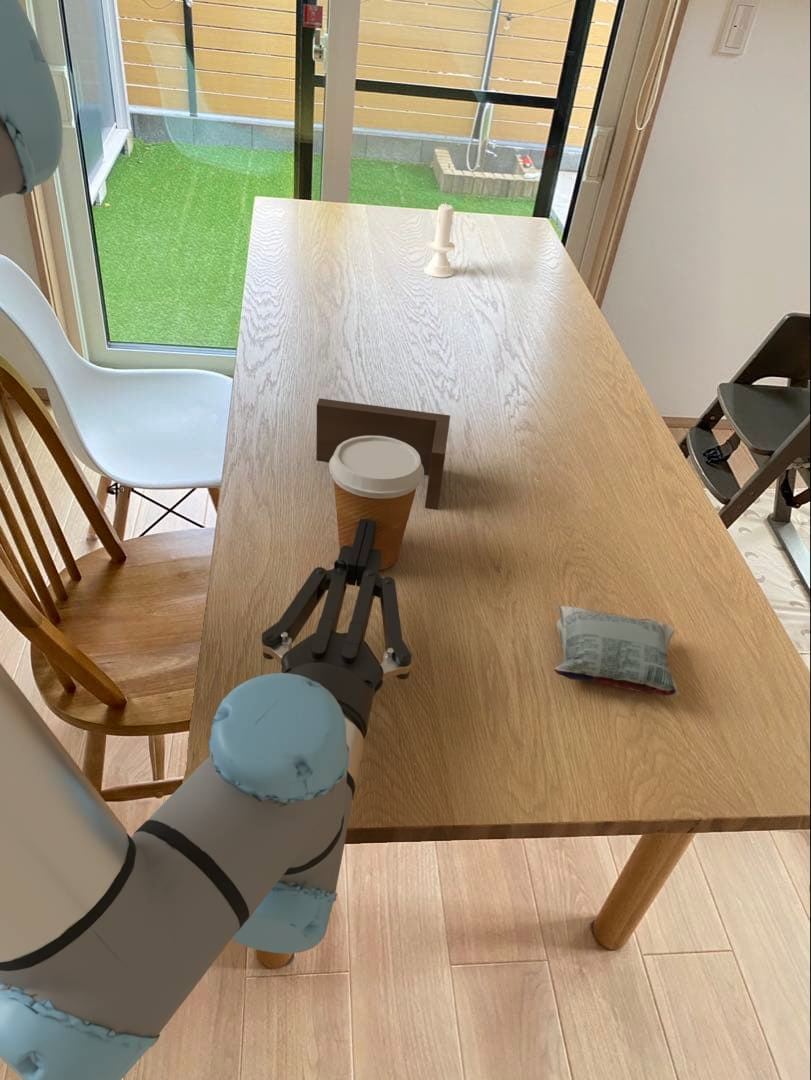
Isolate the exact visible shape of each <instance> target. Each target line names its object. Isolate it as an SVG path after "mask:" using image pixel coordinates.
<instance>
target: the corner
mask: <svg viewBox="0 0 811 1080" xmlns="http://www.w3.org/2000/svg"><path fill="white" fill-rule="evenodd" d="M450 421H451V415H449V414H443V413H436V412H435V413H434V412H428V411H427V412H426V411H419V410H412V409H404V408H396V407H390V406H382V405H375V404H374V405H373V404H367V403H360V402H359V403H357V402H351V401H343V400H334V399H327V398H321V397H319V398H318V399H317V403H316V448H315V449H316V453H315V454H316V457H315V459H316V461H322V462H328V463H329V461H330V459H331V458H332V456H333V455H334V452H335V450H336V448H337V446H338V445H340V444H341V443H342V442H344V441H346V440H348V439H351V438H355V437H359V436H384V437H390V438H394V439H397V440H399V441H402V442H405V443H407V444H408V445H410V446H412V447H413V448H414V449H415V450H416V451H417V452H418V454H419V455H420V459H421V464H422V465H423V468H424V476H428V478H427V479H428V481H427V486H426V496H425V503H424V509H425V508H426V509H431V510H432V509H433V510H438V509H439V508H438V507H439V502H440V494H441V488H442V482H443V481H442V480H443V474H444V467H445V466H444V465H445V459H446V451H447V444H448V437H449V436H448V435H449V429H450Z"/></svg>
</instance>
